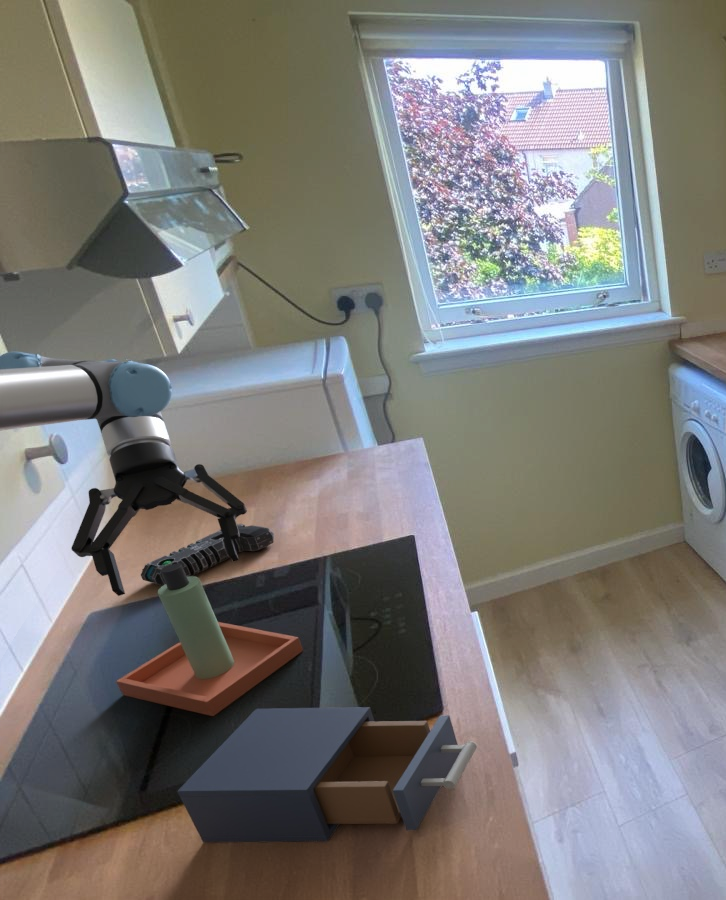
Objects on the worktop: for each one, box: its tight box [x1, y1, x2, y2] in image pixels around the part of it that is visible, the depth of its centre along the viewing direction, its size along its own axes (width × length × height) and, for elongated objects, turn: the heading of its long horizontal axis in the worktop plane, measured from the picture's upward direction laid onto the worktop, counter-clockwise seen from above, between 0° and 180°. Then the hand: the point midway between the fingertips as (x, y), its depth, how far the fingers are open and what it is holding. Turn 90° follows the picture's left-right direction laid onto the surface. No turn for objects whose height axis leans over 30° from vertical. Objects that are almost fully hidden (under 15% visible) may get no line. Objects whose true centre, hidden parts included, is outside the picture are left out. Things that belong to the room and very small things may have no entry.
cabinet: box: [176, 706, 376, 843], centre depth 88 cm, size 15×13×8 cm
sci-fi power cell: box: [140, 523, 275, 587], centre depth 139 cm, size 4×19×10 cm
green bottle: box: [157, 563, 234, 679], centre depth 107 cm, size 5×5×18 cm
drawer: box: [313, 714, 477, 831], centre depth 88 cm, size 18×11×6 cm, turn 89°
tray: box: [115, 621, 304, 717], centre depth 111 cm, size 18×15×3 cm
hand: (178, 575), depth 108 cm, fingers open, 13 cm apart
